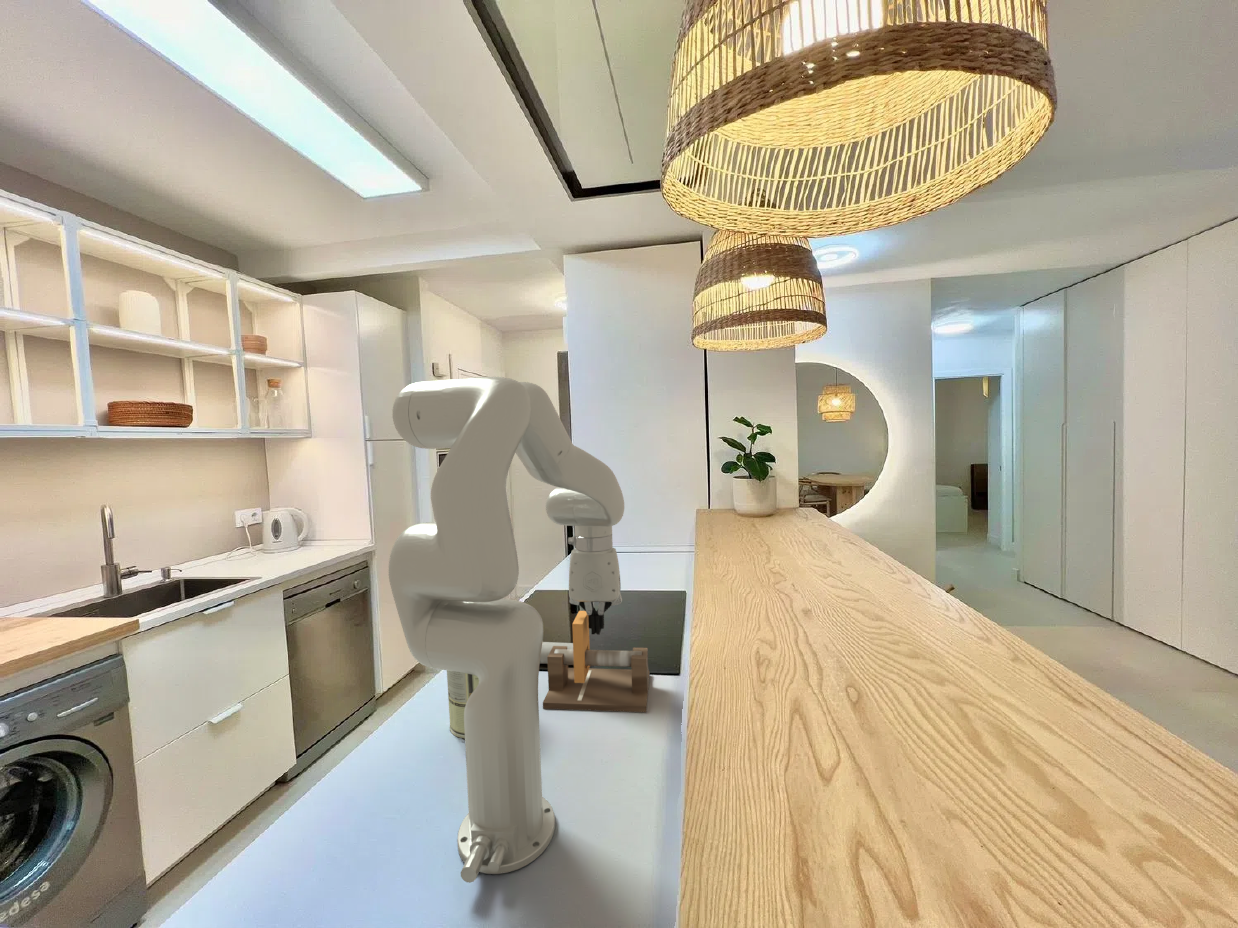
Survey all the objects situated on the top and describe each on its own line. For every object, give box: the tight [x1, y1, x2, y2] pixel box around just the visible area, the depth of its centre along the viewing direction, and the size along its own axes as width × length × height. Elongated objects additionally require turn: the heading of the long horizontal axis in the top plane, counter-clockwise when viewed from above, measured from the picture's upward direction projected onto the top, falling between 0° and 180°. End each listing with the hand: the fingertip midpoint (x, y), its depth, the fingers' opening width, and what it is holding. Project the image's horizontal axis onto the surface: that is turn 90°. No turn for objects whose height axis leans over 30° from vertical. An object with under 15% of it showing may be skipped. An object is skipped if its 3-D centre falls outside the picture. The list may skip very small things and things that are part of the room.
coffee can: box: [446, 670, 479, 739], centre depth 89 cm, size 10×10×14 cm
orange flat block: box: [571, 610, 591, 683], centre depth 99 cm, size 7×2×12 cm, turn 174°
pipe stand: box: [542, 646, 650, 713], centre depth 99 cm, size 14×20×9 cm
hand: (596, 631), depth 99 cm, fingers closed
